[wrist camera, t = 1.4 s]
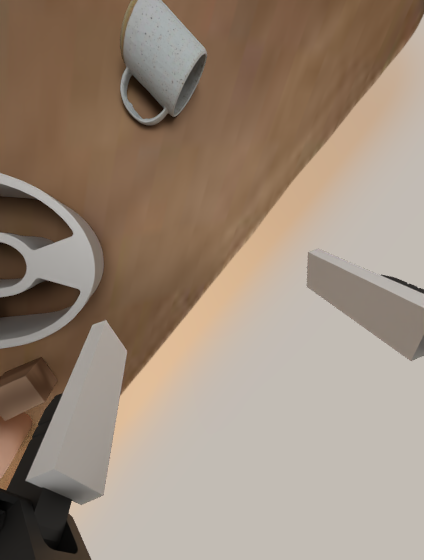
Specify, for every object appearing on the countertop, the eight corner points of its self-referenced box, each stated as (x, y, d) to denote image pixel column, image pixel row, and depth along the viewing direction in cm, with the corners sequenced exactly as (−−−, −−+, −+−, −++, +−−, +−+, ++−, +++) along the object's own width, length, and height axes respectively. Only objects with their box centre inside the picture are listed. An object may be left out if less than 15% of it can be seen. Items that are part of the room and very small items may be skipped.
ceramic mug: (149, 32, 26) (152, -48, 19) (198, 87, 29) (216, 37, 22) (105, 97, 25) (91, 41, 18) (159, 145, 29) (166, 114, 21)
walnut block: (6, 371, 27) (-18, 394, 23) (41, 356, 28) (25, 375, 24) (24, 395, 28) (5, 421, 24) (57, 379, 29) (44, 401, 25)
